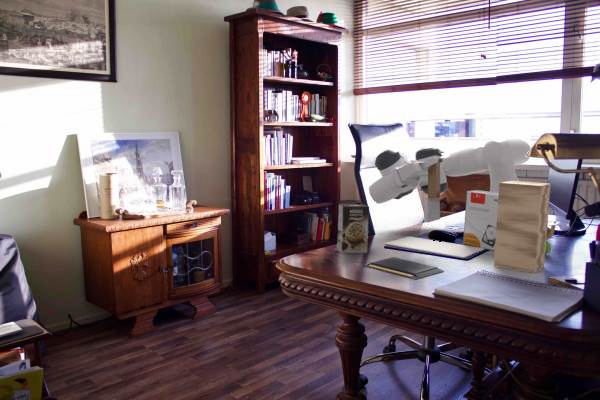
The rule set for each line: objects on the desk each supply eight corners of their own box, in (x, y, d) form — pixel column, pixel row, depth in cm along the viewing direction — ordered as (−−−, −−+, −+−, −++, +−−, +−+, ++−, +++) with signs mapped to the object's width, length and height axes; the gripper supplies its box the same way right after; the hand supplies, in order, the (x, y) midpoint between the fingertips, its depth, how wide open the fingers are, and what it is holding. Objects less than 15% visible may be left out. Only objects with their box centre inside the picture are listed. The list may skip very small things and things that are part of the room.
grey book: (446, 267, 155) (414, 276, 145) (446, 273, 155) (414, 282, 145) (393, 254, 170) (361, 261, 160) (393, 260, 170) (361, 267, 160)
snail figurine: (550, 258, 174) (553, 222, 173) (530, 254, 179) (533, 220, 177) (555, 255, 178) (558, 220, 177) (536, 252, 183) (538, 218, 181)
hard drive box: (462, 244, 193) (465, 191, 191) (473, 242, 198) (476, 189, 196) (501, 252, 182) (505, 195, 179) (512, 249, 187) (516, 194, 184)
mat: (408, 237, 205) (408, 236, 205) (484, 249, 185) (484, 248, 185) (384, 244, 191) (384, 243, 191) (463, 258, 172) (463, 257, 172)
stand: (504, 260, 170) (510, 180, 167) (544, 266, 162) (550, 183, 159) (493, 265, 163) (499, 182, 159) (534, 273, 155) (541, 185, 151)
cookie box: (341, 254, 175) (343, 206, 173) (336, 249, 181) (338, 203, 179) (367, 253, 176) (369, 206, 174) (361, 249, 183) (363, 203, 181)
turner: (435, 159, 182) (444, 159, 180) (435, 218, 184) (443, 219, 182) (423, 160, 175) (432, 160, 173) (423, 222, 177) (432, 222, 175)
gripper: (424, 183, 192) (456, 166, 184) (396, 187, 177) (430, 169, 168) (417, 168, 193) (449, 150, 185) (388, 170, 178) (421, 151, 169)
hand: (439, 159), depth 176 cm, fingers closed on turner, 3 cm apart
